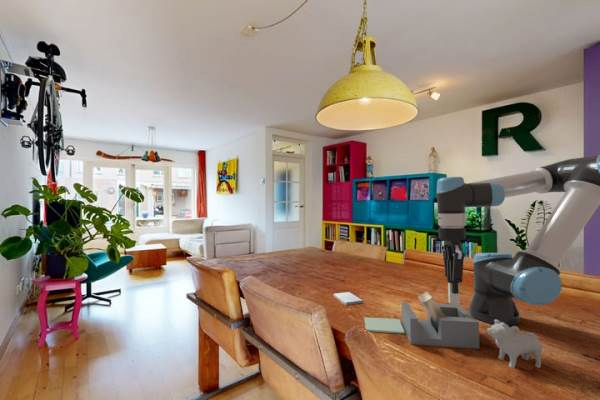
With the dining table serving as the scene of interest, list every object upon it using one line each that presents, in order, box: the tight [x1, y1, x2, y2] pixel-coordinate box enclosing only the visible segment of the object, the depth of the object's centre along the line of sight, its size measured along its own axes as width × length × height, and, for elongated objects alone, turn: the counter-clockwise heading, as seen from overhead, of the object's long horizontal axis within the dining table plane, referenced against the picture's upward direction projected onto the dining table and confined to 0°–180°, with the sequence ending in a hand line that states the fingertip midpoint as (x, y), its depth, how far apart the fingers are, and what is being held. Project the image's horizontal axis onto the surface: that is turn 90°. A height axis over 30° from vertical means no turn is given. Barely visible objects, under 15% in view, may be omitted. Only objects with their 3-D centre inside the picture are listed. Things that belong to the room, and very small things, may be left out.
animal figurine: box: [486, 320, 543, 369], centre depth 74 cm, size 5×13×10 cm, turn 91°
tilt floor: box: [417, 295, 438, 326], centre depth 89 cm, size 13×5×1 cm
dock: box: [401, 301, 480, 350], centre depth 89 cm, size 18×14×8 cm
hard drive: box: [332, 291, 364, 306], centre depth 123 cm, size 2×8×12 cm
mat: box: [363, 316, 406, 335], centre depth 96 cm, size 12×10×1 cm
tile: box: [419, 291, 446, 322], centre depth 89 cm, size 12×6×3 cm
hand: (454, 302), depth 88 cm, fingers closed
